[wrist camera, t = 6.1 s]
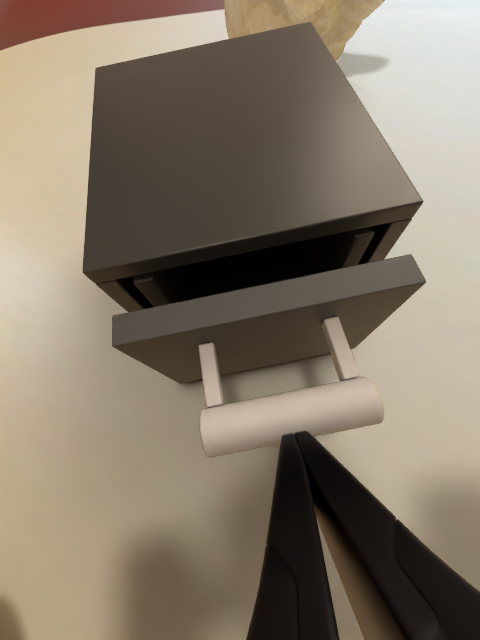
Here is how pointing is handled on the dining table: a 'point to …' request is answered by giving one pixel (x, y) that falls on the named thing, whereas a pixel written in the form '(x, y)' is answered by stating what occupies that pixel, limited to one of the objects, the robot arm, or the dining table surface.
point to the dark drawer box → (232, 159)
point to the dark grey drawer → (270, 332)
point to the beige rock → (300, 17)
